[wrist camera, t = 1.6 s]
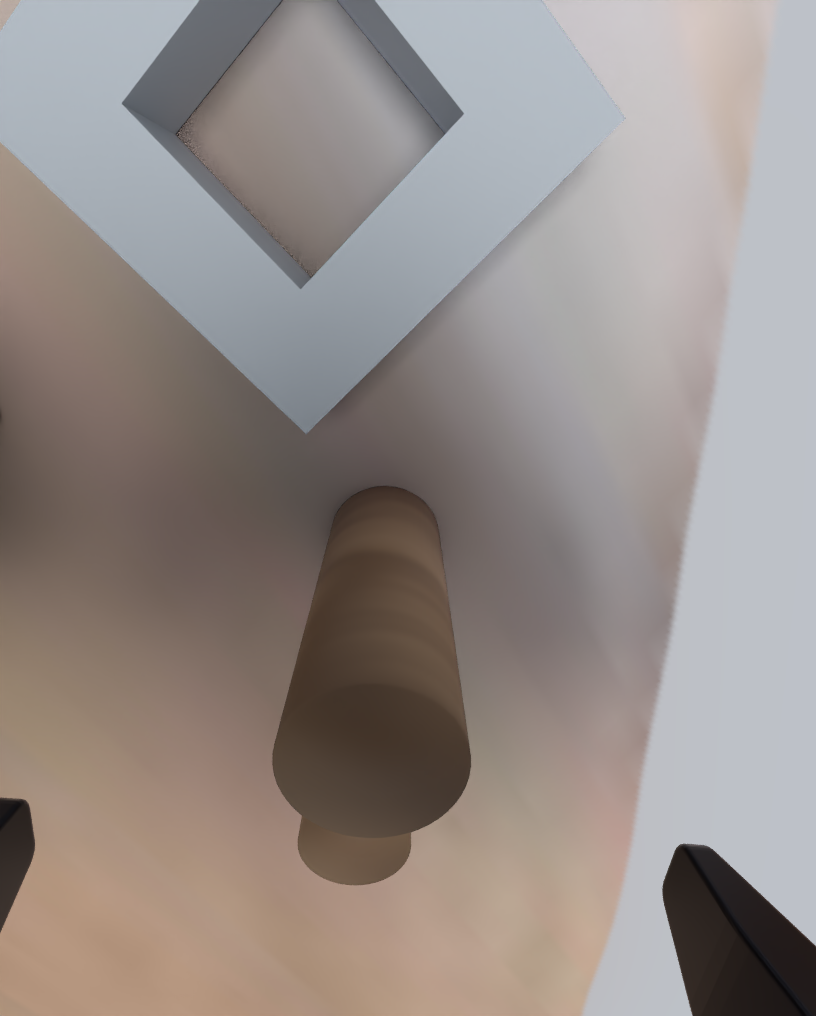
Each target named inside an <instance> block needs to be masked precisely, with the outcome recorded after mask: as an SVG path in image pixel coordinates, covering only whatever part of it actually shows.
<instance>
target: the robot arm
mask: <svg viewBox="0 0 816 1016" xmlns="http://www.w3.org/2000/svg"><path fill="white" fill-rule="evenodd" d="M34 850H35V839H34V832H33V825H32V819H31V812H30V807H29V804H28V803H27V801H26V800H23V799H13V798H0V932H1V930H2V928H3V925H4V923H5V921H6V918H7V916H8V914H9V912H10V909H11V907H12V905H13V903H14V900H15V898H16V896H17V893H18V891H19V889H20V887H21V884H22V882H23V880H24V878H25V875H26V873H27V871H28V868H29V866H30V864H31V861H32V858H33V855H34ZM662 890H663V901H664V906H665V910H666V914H667V918H668V921H669V925H670V929H671V933H672V937H673V941H674V945H675V949H676V953H677V957H678V961H679V965H680V969H681V973H682V976H683V981H684V984H685V989H686V993H687V996H688V1000H689V1004H690V1008H691V1012H692V1015H693V1016H816V946H815V945H814V944H813V943H812V942H811V941H810V940H809V939H808V938H807V937H806V936H805V935H803V934H802V933H801V932H800V931H799V930H798V929H797V928H796V927H795V926H794V925H793V924H792V923H791V922H790V921H789V920H788V919H786V918H785V917H784V916H783V915H782V914H781V913H780V912H779V911H778V910H777V909H776V908H775V907H774V906H773V905H771V904H770V903H769V902H768V901H767V900H766V899H765V898H764V897H763V896H762V895H761V894H760V893H759V892H758V891H757V890H756V889H754V888H753V887H752V886H751V885H750V884H749V883H748V882H747V881H746V880H745V879H744V878H743V877H742V876H741V875H739V874H738V873H737V872H736V871H735V870H734V869H733V868H732V867H731V866H730V865H729V864H728V863H727V862H726V861H725V860H724V859H723V858H721V857H720V856H719V855H718V854H717V853H716V852H715V851H714V850H713V849H711V848H710V847H708V846H704V845H694V844H680V845H679V846H678V847H677V848H676V850H675V852H674V855H673V858H672V860H671V863H670V866H669V868H668V871H667V874H666V876H665V879H664V883H663V889H662Z"/></svg>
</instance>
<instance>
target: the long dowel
mask: <svg viewBox="0 0 816 1016" xmlns="http://www.w3.org/2000/svg"><path fill="white" fill-rule="evenodd" d="M470 768H471V755H470V748H469V740H468V733H467V726H466V719H465V712H464V705H463V698H462V691H461V684H460V677H459V670H458V663H457V656H456V649H455V642H454V635H453V628H452V621H451V614H450V607H449V600H448V593H447V586H446V578H445V571H444V564H443V557H442V550H441V543H440V536H439V530H438V524H437V521H436V518H435V516H434V514H433V512H432V511H431V509H430V508H429V507H428V506H427V504H426V503H425V502H424V501H423V500H421V499H420V498H419V497H418V496H416V495H414V494H413V493H411V492H409V491H407V490H404V489H401V488H396V487H389V486H380V487H373V488H369V489H366V490H363V491H361V492H358V493H357V494H355V495H353V496H352V497H351V498H349V499H348V500H347V501H346V502H345V503H344V504H343V505H342V506H341V508H340V509H339V510H338V512H337V514H336V516H335V518H334V521H333V524H332V528H331V532H330V536H329V539H328V543H327V547H326V551H325V555H324V558H323V562H322V566H321V570H320V573H319V577H318V581H317V585H316V589H315V592H314V596H313V600H312V604H311V608H310V611H309V615H308V619H307V623H306V627H305V630H304V634H303V638H302V642H301V645H300V649H299V653H298V657H297V661H296V664H295V668H294V672H293V676H292V680H291V683H290V687H289V691H288V695H287V699H286V702H285V706H284V710H283V714H282V717H281V721H280V725H279V729H278V733H277V736H276V740H275V744H274V749H273V771H274V776H275V779H276V782H277V785H278V786H279V788H280V790H281V792H282V794H283V795H284V797H285V798H286V800H287V801H288V802H289V803H290V805H291V806H292V807H293V808H294V809H295V810H296V811H297V812H299V813H300V814H301V815H302V816H304V817H305V818H306V819H308V820H310V821H311V822H313V823H314V824H316V825H318V826H320V827H322V828H324V829H327V830H330V831H333V832H335V833H339V834H343V835H347V836H353V837H359V838H386V837H393V836H398V835H403V834H407V833H410V832H413V831H416V830H418V829H421V828H423V827H425V826H427V825H429V824H431V823H432V822H434V821H436V820H437V819H439V818H440V817H441V816H443V815H444V814H445V813H446V812H447V811H448V810H449V809H450V808H451V807H452V806H453V805H454V804H455V803H456V802H457V800H458V799H459V797H460V796H461V795H462V793H463V791H464V789H465V787H466V784H467V781H468V778H469V774H470Z"/></svg>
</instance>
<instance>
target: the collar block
mask: <svg viewBox="0 0 816 1016" xmlns="http://www.w3.org/2000/svg"><path fill="white" fill-rule="evenodd" d="M281 1H282V0H21V1H20V3H19V4H18V6H17V7H16V9H15V10H14V12H13V13H12V15H11V16H10V18H9V19H8V21H7V22H6V24H5V25H4V26H3V28H2V29H1V31H0V142H1V143H2V144H3V145H4V146H5V147H6V148H7V149H8V150H9V151H10V152H11V153H12V154H13V155H14V156H16V157H17V158H18V159H19V160H20V161H21V162H22V163H23V164H24V165H25V166H26V167H27V168H28V169H29V170H30V171H31V172H32V173H33V174H34V175H35V176H36V177H38V178H39V179H40V180H41V181H42V182H43V183H44V184H45V185H46V186H47V187H48V188H49V189H50V190H51V191H52V192H53V193H54V194H55V195H56V196H57V197H58V198H59V199H61V200H62V201H63V202H64V203H65V204H66V205H67V206H68V207H69V208H70V209H71V210H72V211H73V212H74V213H75V214H76V215H77V216H78V217H79V218H80V219H81V220H83V221H84V222H85V223H86V224H87V225H88V226H89V227H90V228H91V229H92V230H93V231H94V232H95V233H96V234H97V235H98V236H99V237H100V238H101V239H102V240H103V241H104V242H106V243H107V244H108V245H109V246H110V247H111V248H112V249H113V250H114V251H115V252H116V253H117V254H118V255H119V256H120V257H121V258H122V259H123V260H124V261H125V262H126V263H128V264H129V265H130V266H131V267H132V268H133V269H134V270H135V271H136V272H137V273H138V274H139V275H140V276H141V277H142V278H143V279H144V280H145V281H146V282H147V283H148V284H149V285H151V286H152V287H153V288H154V289H155V290H156V291H157V292H158V293H159V294H160V295H161V296H162V297H163V298H164V299H165V300H166V301H167V302H168V303H169V304H170V305H171V306H173V307H174V308H175V309H176V310H177V311H178V312H179V313H180V314H181V315H182V316H183V317H184V318H185V319H186V320H187V321H188V322H189V323H190V324H191V325H192V326H193V327H194V328H196V329H197V330H198V331H199V332H200V333H201V334H202V335H203V336H204V337H205V338H206V339H207V340H208V341H209V342H210V343H211V344H212V345H213V346H214V347H215V348H216V349H218V350H219V351H220V352H221V353H222V354H223V355H224V356H225V357H226V358H227V359H228V360H229V361H230V362H231V363H232V364H233V365H234V366H235V367H236V368H237V369H238V370H239V371H241V372H242V373H243V374H244V375H245V376H246V377H247V378H248V379H249V380H250V381H251V382H252V383H253V384H254V385H255V386H256V387H257V388H258V389H259V390H260V391H261V392H263V393H264V394H265V395H266V396H267V397H268V398H269V399H270V400H271V401H272V402H273V403H274V404H275V405H276V406H277V407H278V408H279V409H280V410H281V411H282V412H283V413H284V414H286V415H287V416H288V417H289V418H290V419H291V420H292V421H293V422H294V423H295V424H296V425H297V426H298V427H299V428H300V429H301V430H302V431H303V432H304V433H305V434H307V433H308V432H309V431H310V430H311V429H312V428H313V427H314V426H315V425H316V424H317V423H318V422H319V421H320V420H321V419H322V418H323V417H324V416H325V415H326V414H327V413H328V412H329V411H330V410H331V409H332V408H333V407H334V406H335V405H336V404H337V403H338V402H339V401H340V400H341V399H342V398H343V397H344V396H345V395H346V394H347V393H348V392H349V391H350V390H351V389H352V388H353V387H354V386H355V385H356V384H357V383H358V382H359V381H361V380H362V379H363V378H364V377H365V376H366V375H367V374H368V373H369V372H370V371H371V370H372V369H373V368H374V367H375V366H376V365H377V364H378V363H379V362H380V361H381V360H382V359H383V358H384V357H385V356H386V355H387V354H388V353H389V352H390V351H391V350H392V349H393V348H394V347H395V346H396V345H397V344H398V343H399V342H400V341H401V340H402V339H403V338H404V337H405V336H406V335H407V334H408V333H409V332H410V331H411V330H412V329H413V328H414V327H415V326H416V325H417V324H418V323H419V322H420V321H421V320H422V319H423V318H424V317H425V316H426V315H427V314H428V313H429V312H430V311H431V310H432V309H433V308H434V307H435V306H436V305H437V304H438V303H439V302H440V301H441V300H442V299H443V298H444V297H445V296H446V295H447V294H449V293H450V292H451V291H452V290H453V289H454V288H455V287H456V286H457V285H458V284H459V283H460V282H461V281H462V280H463V279H464V278H465V277H466V276H467V275H468V274H469V273H470V272H471V271H472V270H473V269H474V268H475V267H476V266H477V265H478V264H479V263H480V262H481V261H482V260H483V259H484V258H485V257H486V256H487V255H488V254H489V253H490V252H491V251H492V250H493V249H494V248H495V247H496V246H497V245H498V244H499V243H500V242H501V241H502V240H503V239H504V238H505V237H506V236H507V235H508V234H509V233H510V232H511V231H512V230H513V229H514V228H515V227H516V226H517V225H518V224H519V223H520V222H521V221H522V220H523V219H524V218H525V217H526V216H527V215H528V214H529V213H530V212H531V211H532V210H533V209H534V208H536V207H537V206H538V205H539V204H540V203H541V202H542V201H543V200H544V199H545V198H546V197H547V196H548V195H549V194H550V193H551V192H552V191H553V190H554V189H555V188H556V187H557V186H558V185H559V184H560V183H561V182H562V181H563V180H564V179H565V178H566V177H567V176H568V175H569V174H570V173H571V172H572V171H573V170H574V169H575V168H576V167H577V166H578V165H579V164H580V163H581V162H582V161H583V160H584V159H585V158H586V157H587V156H588V155H589V154H590V153H591V152H592V151H593V150H594V149H595V148H596V147H597V146H598V145H599V144H600V143H601V142H602V141H603V140H604V139H605V138H606V137H607V136H608V135H609V134H610V133H611V132H612V131H613V130H614V129H615V128H616V127H617V126H618V125H619V124H620V123H621V122H622V121H624V120H625V119H626V118H625V117H624V115H623V114H622V112H621V111H620V110H619V108H618V107H617V105H616V104H615V102H614V101H613V100H612V98H611V97H610V95H609V94H608V93H607V91H606V90H605V88H604V87H603V85H602V84H601V83H600V81H599V80H598V78H597V77H596V76H595V74H594V73H593V71H592V70H591V69H590V67H589V66H588V64H587V63H586V61H585V60H584V59H583V57H582V56H581V54H580V53H579V52H578V50H577V49H576V47H575V46H574V44H573V43H572V42H571V40H570V39H569V37H568V36H567V35H566V33H565V32H564V30H563V29H562V28H561V26H560V25H559V23H558V22H557V20H556V19H555V18H554V16H553V15H552V13H551V12H550V11H549V9H548V8H547V6H546V5H545V3H544V2H543V1H542V0H337V1H338V2H339V3H340V4H341V6H342V7H343V8H344V9H345V11H346V12H347V13H348V14H349V15H350V17H351V18H352V19H353V20H354V22H355V23H356V24H357V25H358V27H359V28H360V29H361V30H362V32H363V33H364V34H365V35H366V37H367V38H368V39H369V40H370V41H371V43H372V44H373V45H374V46H375V48H376V49H377V50H378V51H379V53H380V54H381V55H382V56H383V58H384V59H385V60H386V61H387V63H388V64H389V65H390V66H391V67H392V69H393V70H394V71H395V72H396V74H397V75H398V76H399V77H400V79H401V80H402V81H403V82H404V84H405V85H406V86H407V87H408V88H409V90H410V91H411V92H412V93H413V95H414V96H415V97H416V98H417V100H418V101H419V102H420V103H421V105H422V106H423V107H424V108H425V110H426V111H427V112H428V113H429V114H430V116H431V117H432V118H433V119H434V121H435V122H436V123H437V124H438V126H439V127H440V128H441V129H442V131H443V132H444V133H445V135H444V136H443V137H442V138H441V139H440V140H439V141H438V142H437V143H436V145H435V146H434V147H433V148H432V149H431V150H430V151H429V152H428V153H427V154H426V155H425V156H424V157H423V159H422V160H421V161H420V162H419V163H418V164H417V165H416V166H415V167H414V168H413V169H412V170H411V171H410V172H409V174H408V175H407V176H406V177H405V178H404V179H403V180H402V181H401V182H400V183H399V184H398V185H397V186H396V188H395V189H394V190H393V191H392V192H391V193H390V194H389V195H388V196H387V197H386V198H385V199H384V200H383V202H382V203H381V204H380V205H379V206H378V207H377V208H376V209H375V210H374V211H373V212H372V213H371V214H370V216H369V217H368V218H367V219H366V220H365V221H364V222H363V223H362V224H361V225H360V226H359V227H358V228H357V230H356V231H355V232H354V233H353V234H352V235H351V236H350V237H349V238H348V239H347V240H346V241H345V242H344V244H343V245H342V246H341V247H340V248H339V249H338V250H337V251H336V252H335V253H334V254H333V255H332V256H331V257H330V259H329V260H328V261H327V262H326V263H325V264H324V265H323V266H322V267H321V268H320V269H319V270H318V271H317V273H316V274H315V275H314V276H313V277H312V278H311V277H310V276H309V275H308V274H307V273H306V272H305V271H304V270H303V269H302V267H301V266H300V265H299V264H298V263H297V262H296V261H295V260H294V259H293V258H292V257H291V256H290V255H289V254H288V253H287V252H286V251H285V250H284V249H283V248H282V246H281V245H280V244H279V243H278V242H277V241H276V240H275V239H274V238H273V237H272V236H271V235H270V234H269V233H268V232H267V231H266V230H265V229H264V228H263V226H262V225H261V224H260V223H259V222H258V221H257V220H256V219H255V218H254V217H253V216H252V215H251V214H250V213H249V212H248V211H247V210H246V209H245V208H244V206H243V205H242V204H241V203H240V202H239V201H238V200H237V199H236V198H235V197H234V196H233V195H232V194H231V193H230V192H229V191H228V190H227V189H226V188H225V186H224V185H223V184H222V183H221V182H220V181H219V180H218V179H217V178H216V177H215V176H214V175H213V174H212V173H211V172H210V171H209V170H208V169H207V168H206V166H205V165H204V164H203V163H202V162H201V161H200V160H199V159H198V158H197V157H196V156H195V155H194V154H193V153H192V152H191V151H190V150H189V149H188V148H187V146H186V145H185V144H184V143H183V142H182V141H181V140H180V139H179V138H178V137H177V136H176V135H175V134H176V133H177V132H178V130H179V129H180V128H181V127H182V125H183V124H184V123H185V122H186V120H187V119H188V118H189V117H190V115H191V114H192V113H193V112H194V110H195V109H196V108H197V106H198V105H199V104H200V103H201V101H202V100H203V99H204V98H205V96H206V95H207V94H208V93H209V91H210V90H211V89H212V88H213V86H214V85H215V84H216V83H217V81H218V80H219V79H220V78H221V76H222V75H223V74H224V73H225V71H226V70H227V69H228V67H229V66H230V65H231V64H232V62H233V61H234V60H235V59H236V57H237V56H238V55H239V54H240V52H241V51H242V50H243V49H244V47H245V46H246V45H247V44H248V42H249V41H250V40H251V39H252V37H253V36H254V35H255V34H256V32H257V31H258V30H259V28H260V27H261V26H262V25H263V23H264V22H265V21H266V20H267V18H268V17H269V16H270V15H271V13H272V12H273V11H274V10H275V8H276V7H277V6H278V5H279V3H280V2H281Z"/></svg>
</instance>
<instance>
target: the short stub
mask: <svg viewBox="0 0 816 1016" xmlns="http://www.w3.org/2000/svg"><path fill="white" fill-rule="evenodd" d="M410 849H411V832H410V833H407V834H403V835H398V836H393V837H386V838H359V837H353V836H347V835H343V834H339V833H335V832H333V831H330V830H327V829H324V828H322V827H320V826H318V825H316V824H314V823H313V822H311V821H310V820H308V819H306V818H305V817H304V816H302V819H301V825H300V830H299V836H298V850H299V853H300V856H301V858H302V860H303V861H304V863H305V864H306V865H307V866H308V867H309V869H310V870H312V871H313V872H314V873H315V874H317V875H319V876H320V877H322V878H324V879H326V880H329V881H332V882H335V883H339V884H345V885H365V884H371V883H375V882H379V881H381V880H384V879H386V878H388V877H390V876H391V875H393V874H394V873H396V872H397V871H398V870H399V869H400V868H401V867H402V866H403V865H404V864H405V862H406V861H407V859H408V857H409V854H410Z"/></svg>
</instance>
